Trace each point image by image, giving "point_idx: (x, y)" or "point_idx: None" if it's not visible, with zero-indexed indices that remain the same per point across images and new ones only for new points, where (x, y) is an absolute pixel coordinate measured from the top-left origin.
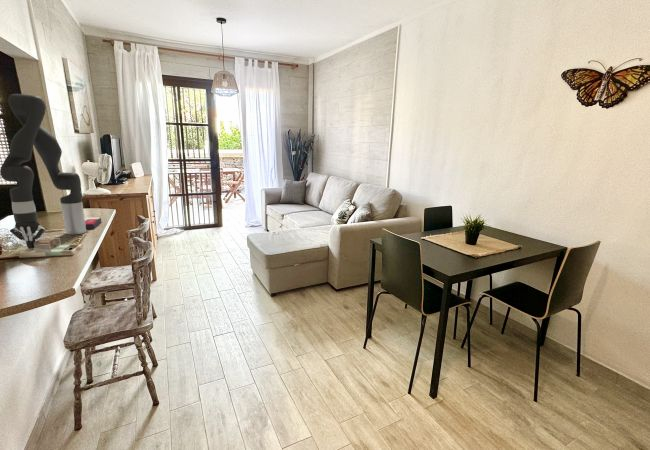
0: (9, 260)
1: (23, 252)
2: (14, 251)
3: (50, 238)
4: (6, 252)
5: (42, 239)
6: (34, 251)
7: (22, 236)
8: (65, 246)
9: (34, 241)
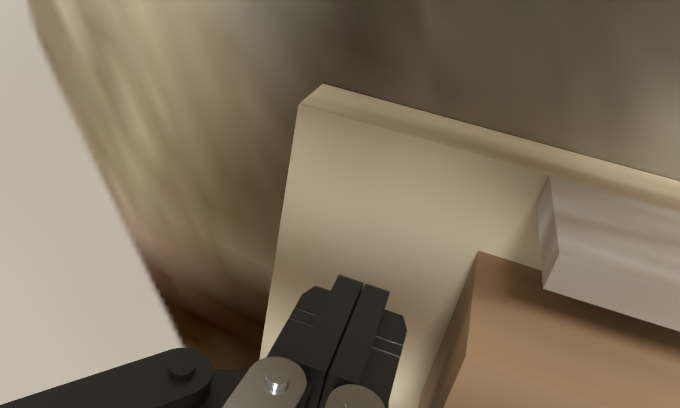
0: None
1: None
2: (120, 43)
3: (665, 310)
4: (51, 54)
5: (509, 406)
6: (412, 400)
7: (148, 397)
8: None
9: (380, 396)
